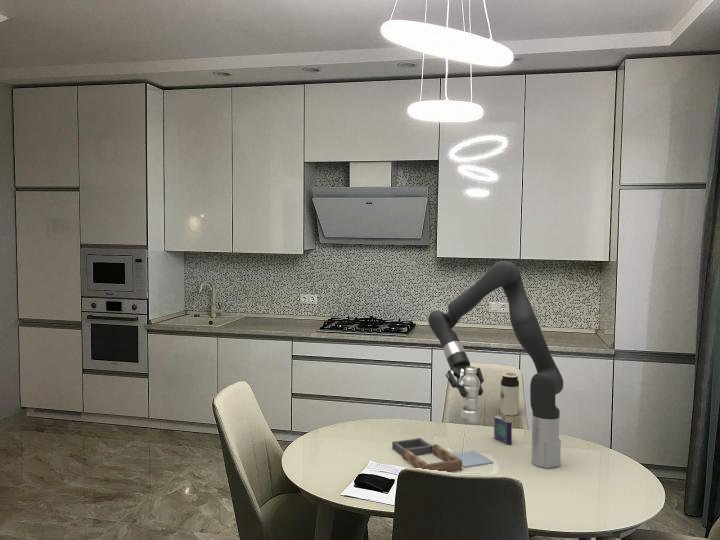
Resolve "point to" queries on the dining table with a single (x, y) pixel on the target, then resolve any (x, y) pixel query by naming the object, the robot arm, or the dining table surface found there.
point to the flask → (503, 429)
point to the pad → (472, 459)
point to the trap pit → (413, 446)
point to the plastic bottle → (470, 396)
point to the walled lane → (448, 464)
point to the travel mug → (509, 394)
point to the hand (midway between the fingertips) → (473, 395)
